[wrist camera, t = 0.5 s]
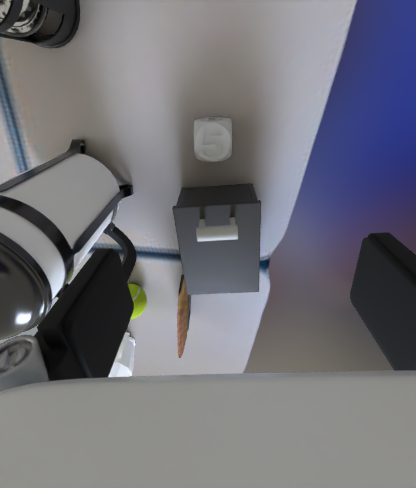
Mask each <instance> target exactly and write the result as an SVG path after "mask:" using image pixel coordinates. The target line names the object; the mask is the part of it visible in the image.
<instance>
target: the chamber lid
mask: <svg viewBox="0 0 416 488" xmlns="http://www.w3.org/2000/svg"><path fill="white" fill-rule="evenodd" d="M173 214H174V220H175V226H176V232H177V237H178V243H179V249H180V255H181V261H182V267H183V273H184V279H185V285H186V291H187V295H193V294H218V293H242V292H259V264H260V223H261V201H260V200H258V201H242V202H227V203H211V204H196V205H181V206H173Z"/></svg>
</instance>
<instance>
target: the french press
mask: <svg viewBox="0 0 416 488" xmlns="http://www.w3.org/2000/svg"><path fill="white" fill-rule="evenodd" d="M49 8H50V9H53V10H55V11H57V12H60V13H62V14H63V16H62V21H61V24H60V26H59V28H58V30H57V31H56V32H55V34H52V35H41V34H38V33H36V32H35V31H37V30H38V29H39V28H40V27H41V26H42V24H43V23H44V21H45V19H46V17H47V13H48V9H49ZM79 20H80V5H79V0H0V37H4V38H9V39H15V40H20V41H25V42H30V43H34V44H36V45H38V46H41V47H45V48H58V47H61V46H64V45H65V44H67V43H68V42H70V40H71V39H72V38H73V37H74V35H75V33H76V31H77V29H78V25H79ZM3 33H5V34H3Z"/></svg>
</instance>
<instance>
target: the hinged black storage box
mask: <svg viewBox="0 0 416 488" xmlns="http://www.w3.org/2000/svg"><path fill="white" fill-rule="evenodd" d="M242 201H258V198H257V195H256V192H255V189H254V186H253V184H239V185H225V186H210V187H196V188H182V189H181V193H180V196H179V199H178V202H177V205H176V206H181V205H196V204H211V203H227V202H242Z"/></svg>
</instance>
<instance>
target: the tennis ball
mask: <svg viewBox="0 0 416 488" xmlns="http://www.w3.org/2000/svg"><path fill="white" fill-rule="evenodd" d="M128 286H129V289H130V293H131V296H132V299H133V303H134V310H133V314H132V316H131V319H134V318H136V317H138V316H139V315H140V314H141V313H142V312H143V311H144V309H145V307H146V303H147V299H146V294H145V292H144V291H143V289H142V288H141V287H139V286H138V285H135V284H128Z"/></svg>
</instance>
